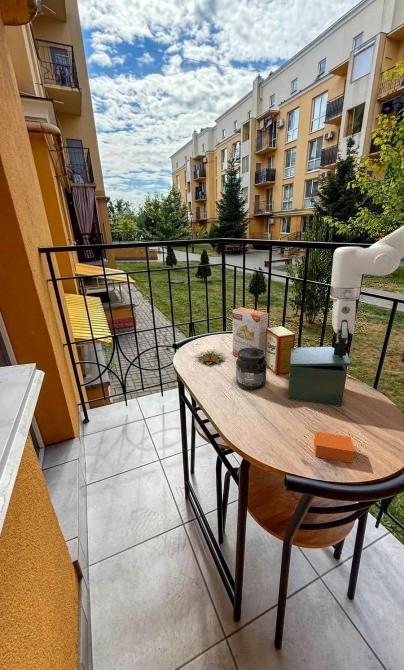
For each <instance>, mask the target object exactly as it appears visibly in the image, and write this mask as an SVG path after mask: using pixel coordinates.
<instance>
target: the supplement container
mask: <svg viewBox="0 0 404 670" xmlns="http://www.w3.org/2000/svg"><path fill="white" fill-rule="evenodd" d="M265 359H266V353H265V352H264V351H263V350H261V349H258V348H243V349H241V350H239V351H238V353H237V359H236V360H235V369H236V370H235V372H236V373H235V381H236V385H237V386H238V387H239V388H241V389H242V390H246V391H247V390H248V391H257V390H261V389H263V388H264V387H265V386H266V385H267V384H266V383H267V367H266V366H267V361H266V360H265Z"/></svg>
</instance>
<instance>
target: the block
mask: <svg viewBox="0 0 404 670" xmlns="http://www.w3.org/2000/svg"><path fill="white" fill-rule="evenodd" d="M313 447H314V448H313V449H314V456H315V457H317V458H322V459H327V460H328V459H329V460H332V461H339V462H343V463H349V464H353V461H354V458H355V457H354V456H355V448H354V444H353V440H352V437H351V436H348V435H341V434H335V433H328V432H322V431H314V438H313Z"/></svg>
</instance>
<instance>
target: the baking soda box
mask: <svg viewBox="0 0 404 670" xmlns="http://www.w3.org/2000/svg"><path fill="white" fill-rule="evenodd" d="M295 341H296V333H295V332H293V331H291V330H289V329H288V328H286V327H284V326H283V325H280V326H273V327H268V328H266V345H265V353H266V359H265V360H266V361H267V366H266V369H268V370H269V371H271V373H273V374H274V375H275V376H276V377H277V376H282V375H283V376H284V375H288V374H289V371H290V359H291V348H295V345H296V343H295Z"/></svg>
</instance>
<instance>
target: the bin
mask: <svg viewBox="0 0 404 670" xmlns="http://www.w3.org/2000/svg"><path fill="white" fill-rule="evenodd" d="M347 376H348V370H347V368H346V366H291V359H290V371H289V375H288V387H287V388H288V389H287V390H288V391H287V400H289V401H297V402H304V403H312V404H320V405H327V406H335V407H343V401H344V394H345V389H346V388H345V387H346V383H347Z"/></svg>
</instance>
